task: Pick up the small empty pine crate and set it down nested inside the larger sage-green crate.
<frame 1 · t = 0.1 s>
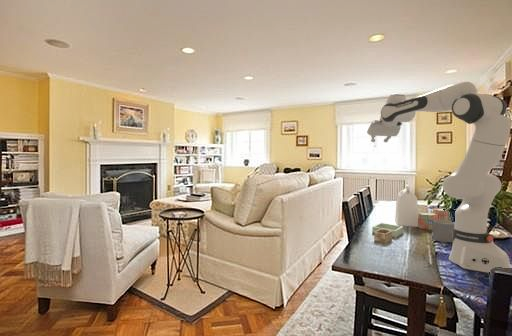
hand: (378, 141, 172), 54 cm above the table, tool tilted 30°, fingers open, 8 cm apart
milk: (406, 224, 188), on the table
pine crate: (383, 240, 152), on the table
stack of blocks: (437, 229, 177), on the table
coffee mug: (447, 240, 153), on the table
sage crate: (387, 233, 166), on the table
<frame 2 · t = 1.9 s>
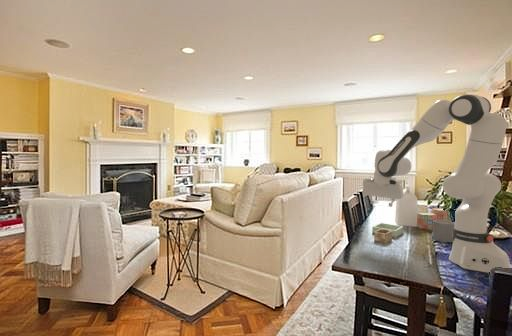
hand: (381, 205, 153), 19 cm above the table, tool pointing down, fingers open, 8 cm apart
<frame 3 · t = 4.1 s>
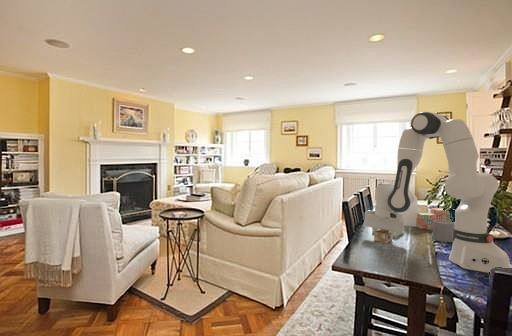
hand: (383, 237, 152), 2 cm above the table, tool pointing down, fingers closed on pine crate, 6 cm apart
pine crate: (383, 240, 152), on the table, touching gripper
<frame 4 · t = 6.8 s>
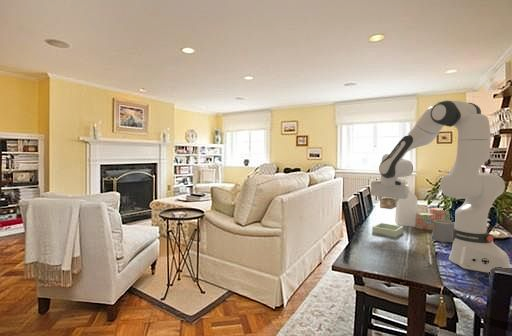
hand: (388, 204, 165), 17 cm above the table, tool pointing down, fingers closed on pine crate, 6 cm apart
pine crate: (388, 207, 165), point 15 cm above the table, touching gripper
when the fingers open (5 cm above the table, at t = 9.5 s): pine crate drops 3 cm, resting on sage crate.
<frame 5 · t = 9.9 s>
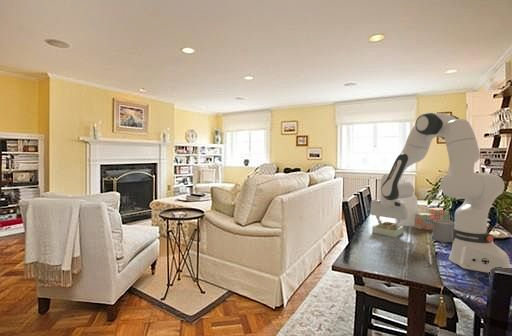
hand: (387, 224, 166), 5 cm above the table, tool pointing down, fingers open, 8 cm apart
pine crate: (387, 232, 166), point 1 cm above the table, touching sage crate
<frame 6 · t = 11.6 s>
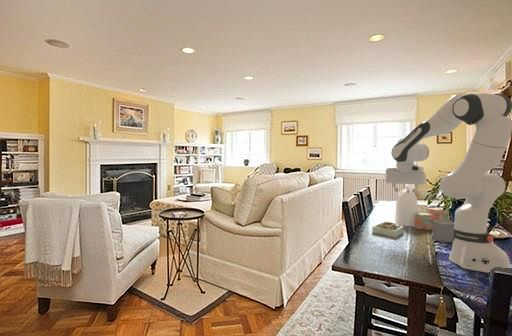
hand: (405, 192, 158), 25 cm above the table, tool pointing down, fingers open, 8 cm apart
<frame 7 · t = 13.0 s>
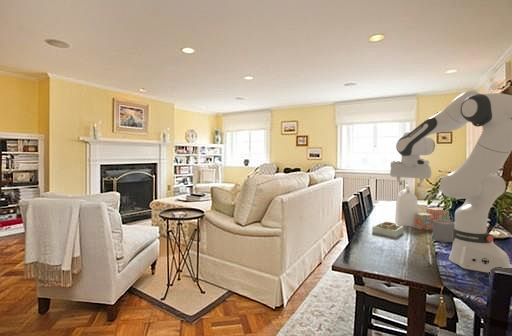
hand: (409, 185, 157), 29 cm above the table, tool pointing down, fingers open, 8 cm apart
at the end: pine crate 0.1 cm off-centre on the sage crate, point 0.7 cm above the sage crate's base; pine crate tilted 0°; the gripper is holding nothing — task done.
